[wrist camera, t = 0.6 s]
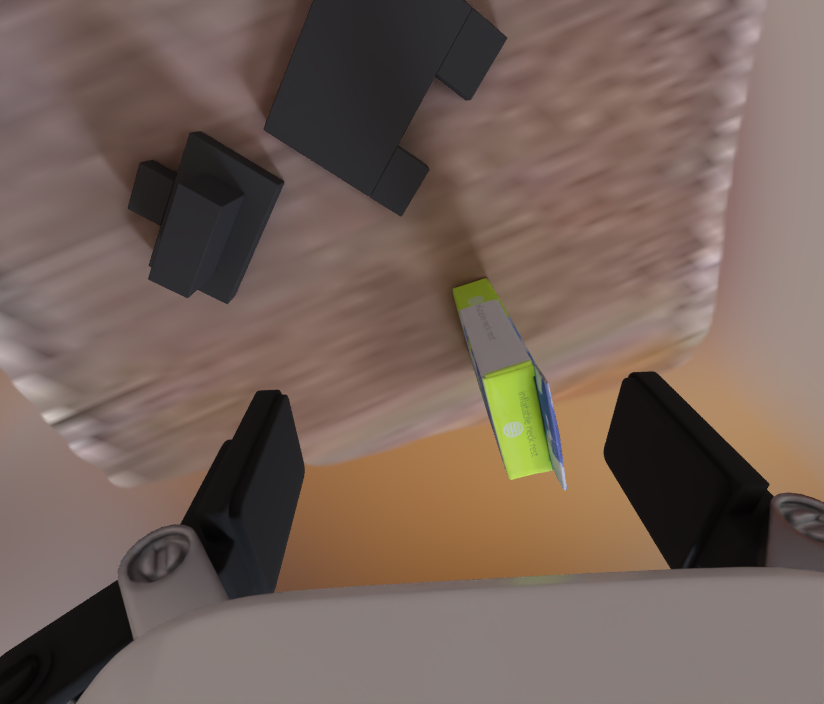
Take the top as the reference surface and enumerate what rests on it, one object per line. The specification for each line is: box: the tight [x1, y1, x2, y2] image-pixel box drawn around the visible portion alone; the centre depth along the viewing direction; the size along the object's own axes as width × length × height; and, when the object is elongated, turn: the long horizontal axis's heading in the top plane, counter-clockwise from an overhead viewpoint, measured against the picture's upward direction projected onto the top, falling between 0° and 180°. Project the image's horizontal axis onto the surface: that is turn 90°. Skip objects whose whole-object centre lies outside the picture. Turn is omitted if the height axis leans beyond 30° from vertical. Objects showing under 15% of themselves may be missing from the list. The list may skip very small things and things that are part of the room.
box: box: [452, 278, 567, 490], centre depth 34 cm, size 10×4×17 cm, turn 18°
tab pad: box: [128, 132, 284, 304], centre depth 32 cm, size 12×10×7 cm
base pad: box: [264, 0, 507, 216], centre depth 30 cm, size 14×12×2 cm
